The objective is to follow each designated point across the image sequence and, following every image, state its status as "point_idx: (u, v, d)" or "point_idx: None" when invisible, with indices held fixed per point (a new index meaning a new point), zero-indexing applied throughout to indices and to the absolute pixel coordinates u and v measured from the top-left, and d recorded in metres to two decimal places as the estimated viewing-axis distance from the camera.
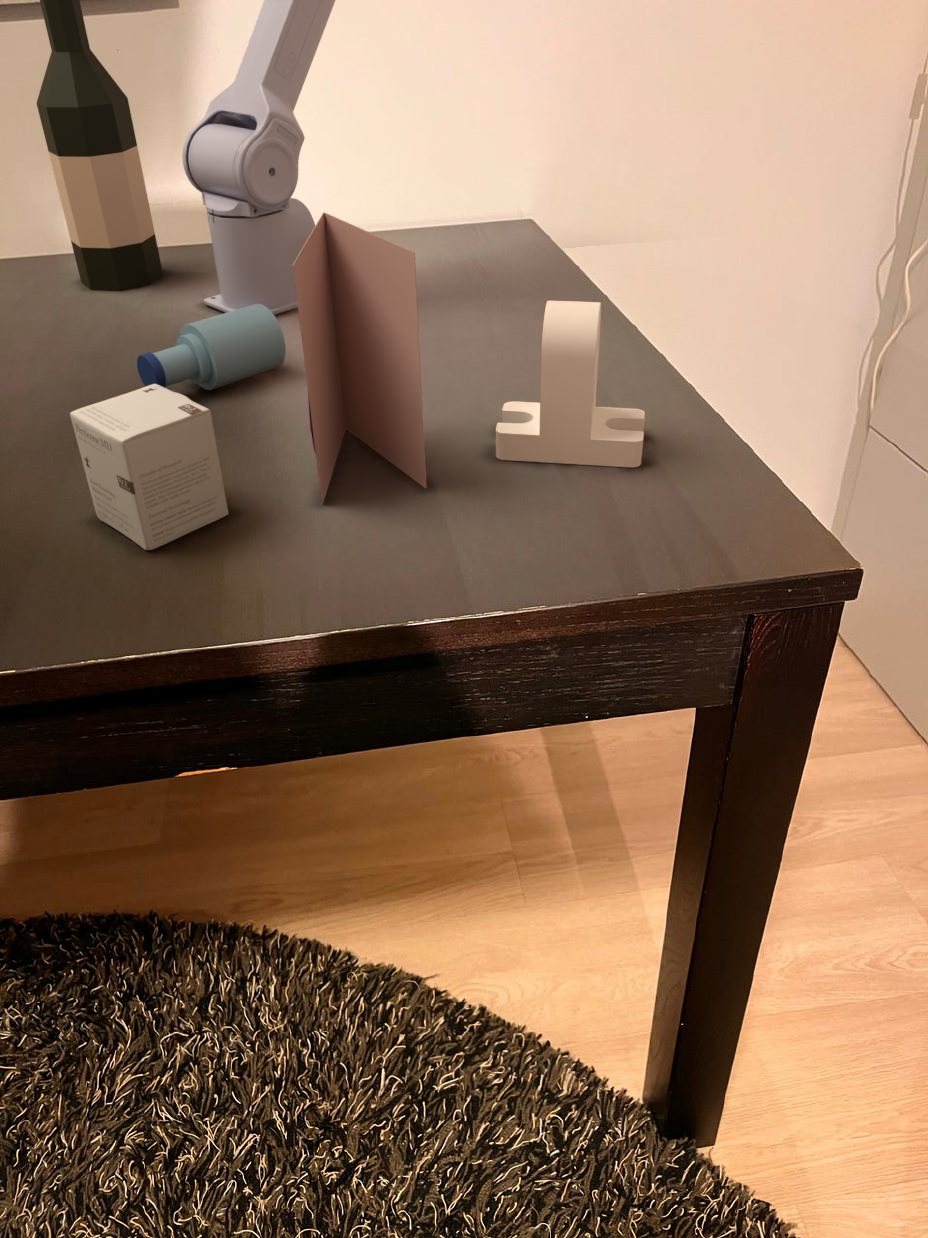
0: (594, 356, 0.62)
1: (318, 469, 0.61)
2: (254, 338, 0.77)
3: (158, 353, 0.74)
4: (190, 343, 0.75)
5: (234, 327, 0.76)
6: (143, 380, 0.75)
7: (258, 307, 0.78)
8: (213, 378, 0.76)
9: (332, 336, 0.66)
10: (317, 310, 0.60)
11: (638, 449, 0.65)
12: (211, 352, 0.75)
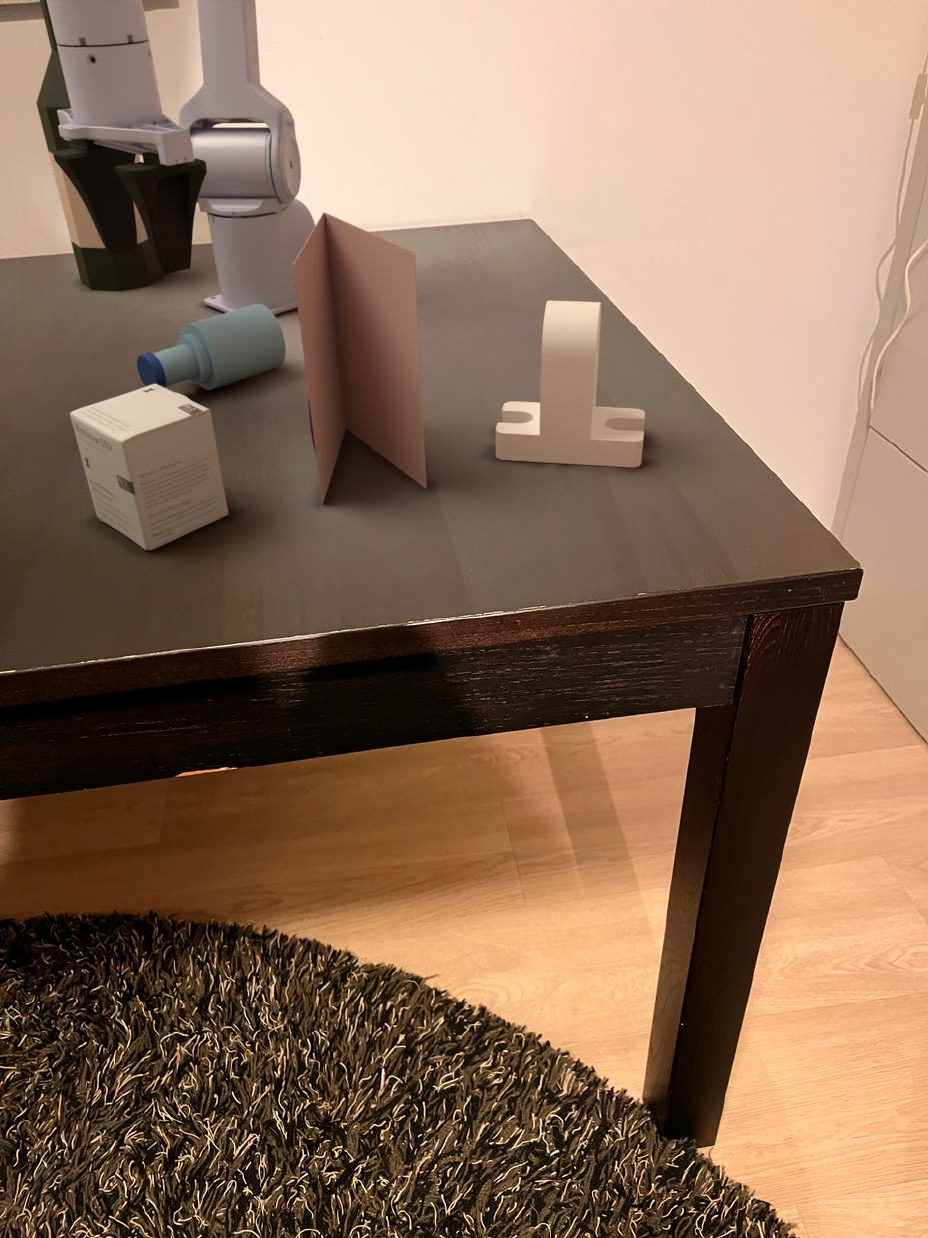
0: (594, 356, 0.62)
1: (318, 469, 0.61)
2: (254, 338, 0.77)
3: (158, 353, 0.74)
4: (190, 343, 0.75)
5: (234, 327, 0.76)
6: (143, 380, 0.75)
7: (258, 307, 0.78)
8: (213, 378, 0.76)
9: (332, 336, 0.66)
10: (317, 310, 0.61)
11: (638, 449, 0.65)
12: (211, 352, 0.75)
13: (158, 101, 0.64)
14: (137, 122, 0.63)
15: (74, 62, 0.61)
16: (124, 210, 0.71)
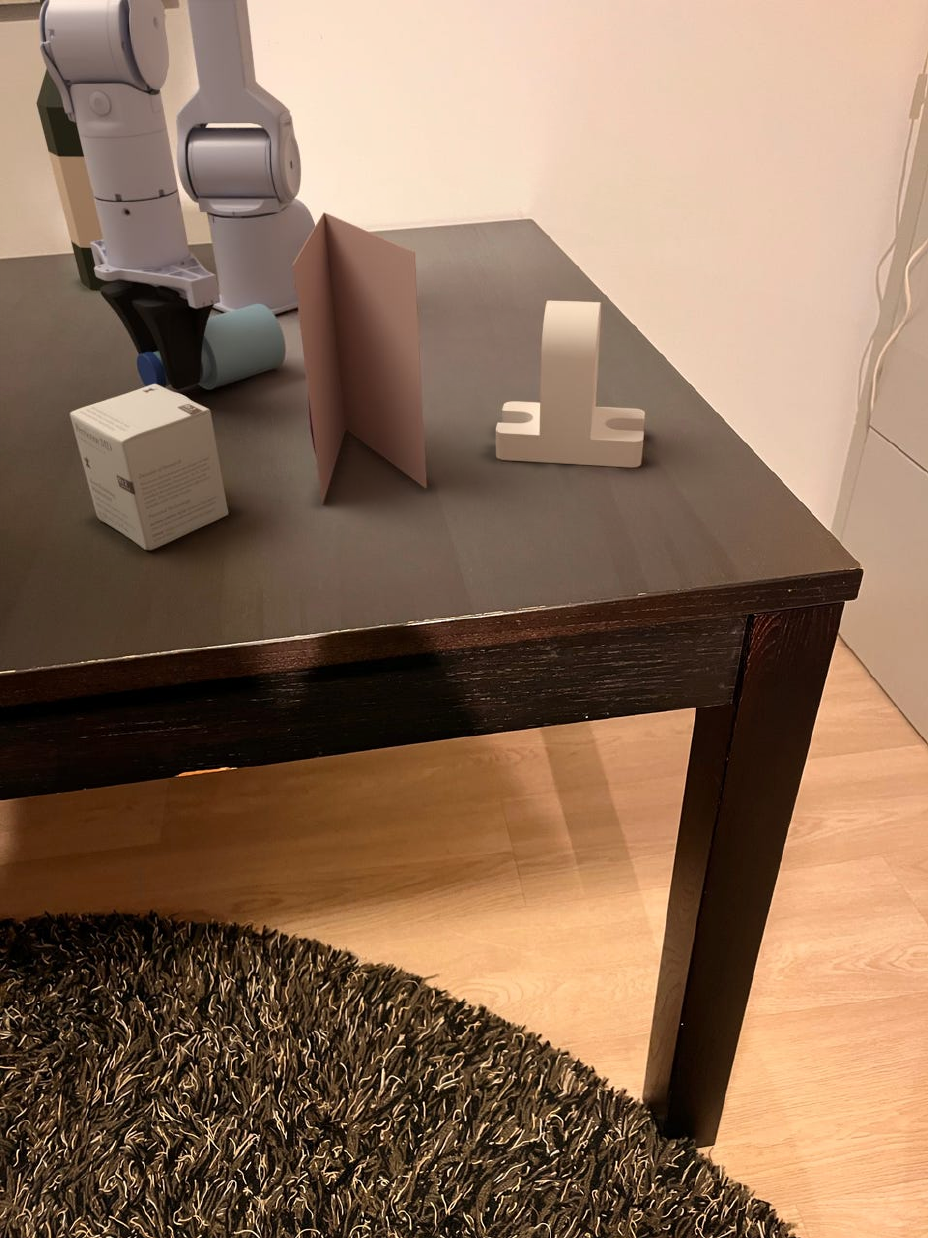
0: (594, 356, 0.62)
1: (318, 469, 0.61)
2: (254, 338, 0.77)
3: (158, 352, 0.74)
4: None
5: (234, 327, 0.76)
6: (143, 379, 0.75)
7: (258, 307, 0.78)
8: (213, 377, 0.76)
9: (332, 336, 0.66)
10: (317, 310, 0.61)
11: (638, 449, 0.65)
12: (211, 352, 0.75)
13: (186, 242, 0.70)
14: (167, 264, 0.69)
15: (110, 214, 0.66)
16: None
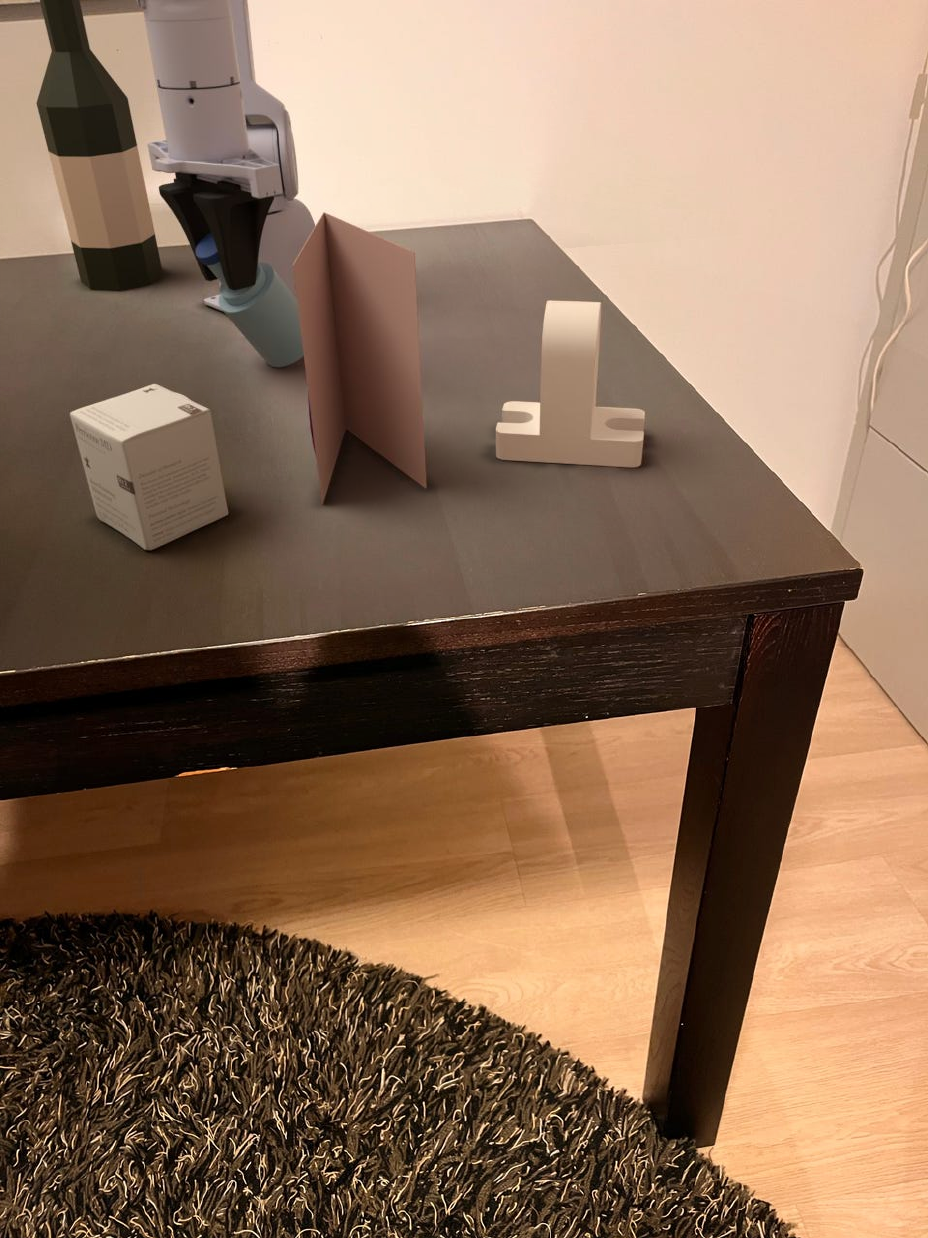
0: (594, 356, 0.62)
1: (318, 469, 0.61)
2: (298, 317, 0.79)
3: None
4: None
5: (292, 296, 0.78)
6: (199, 248, 0.74)
7: None
8: (249, 302, 0.76)
9: (332, 336, 0.66)
10: (317, 310, 0.60)
11: (638, 449, 0.65)
12: (269, 283, 0.76)
13: (246, 137, 0.70)
14: (229, 157, 0.68)
15: (174, 103, 0.66)
16: None
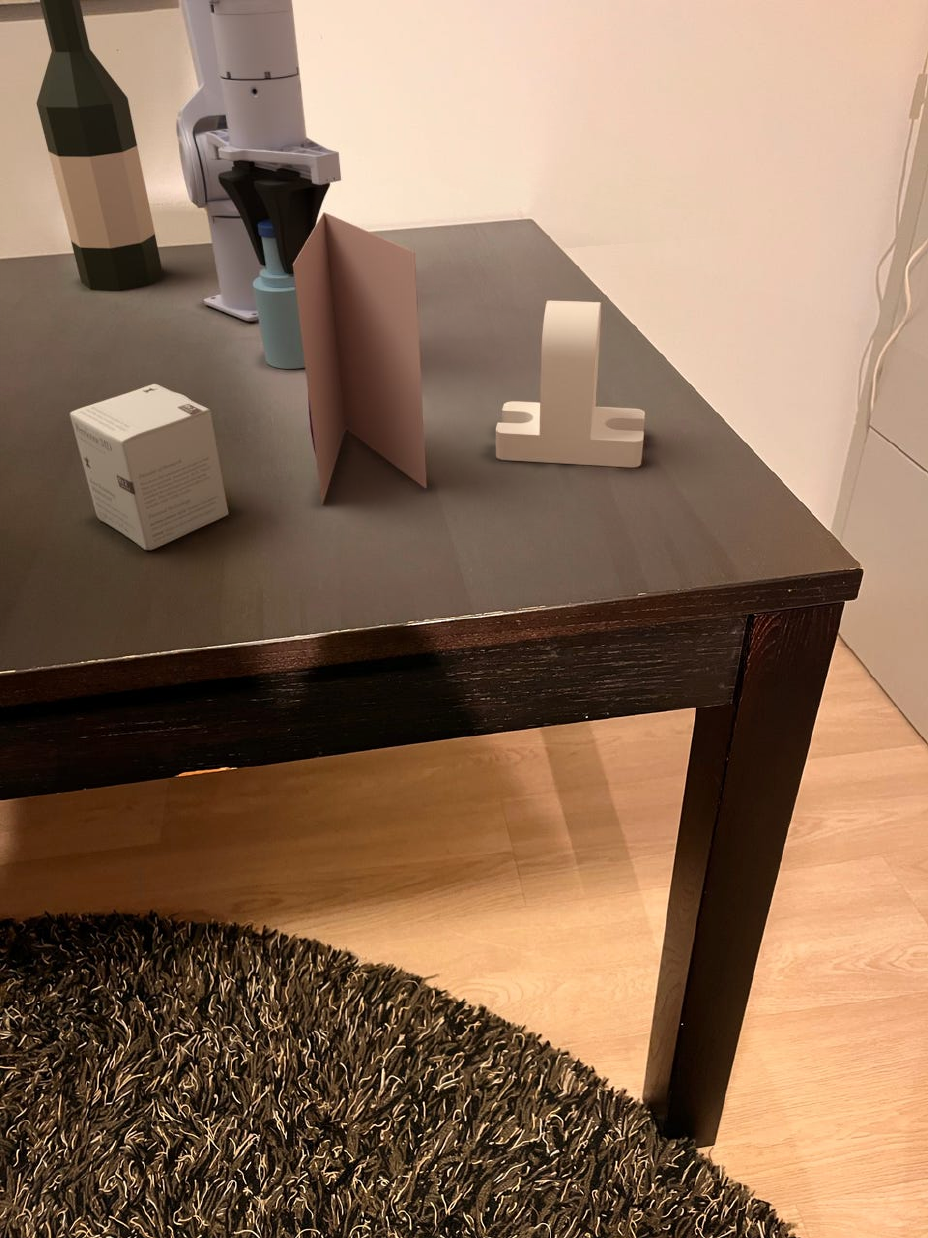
0: (594, 356, 0.62)
1: (318, 469, 0.61)
2: None
3: None
4: None
5: None
6: (262, 222, 0.76)
7: None
8: (286, 288, 0.77)
9: (332, 336, 0.66)
10: (317, 310, 0.60)
11: (638, 449, 0.65)
12: None
13: (304, 126, 0.73)
14: (288, 145, 0.71)
15: (238, 93, 0.69)
16: None
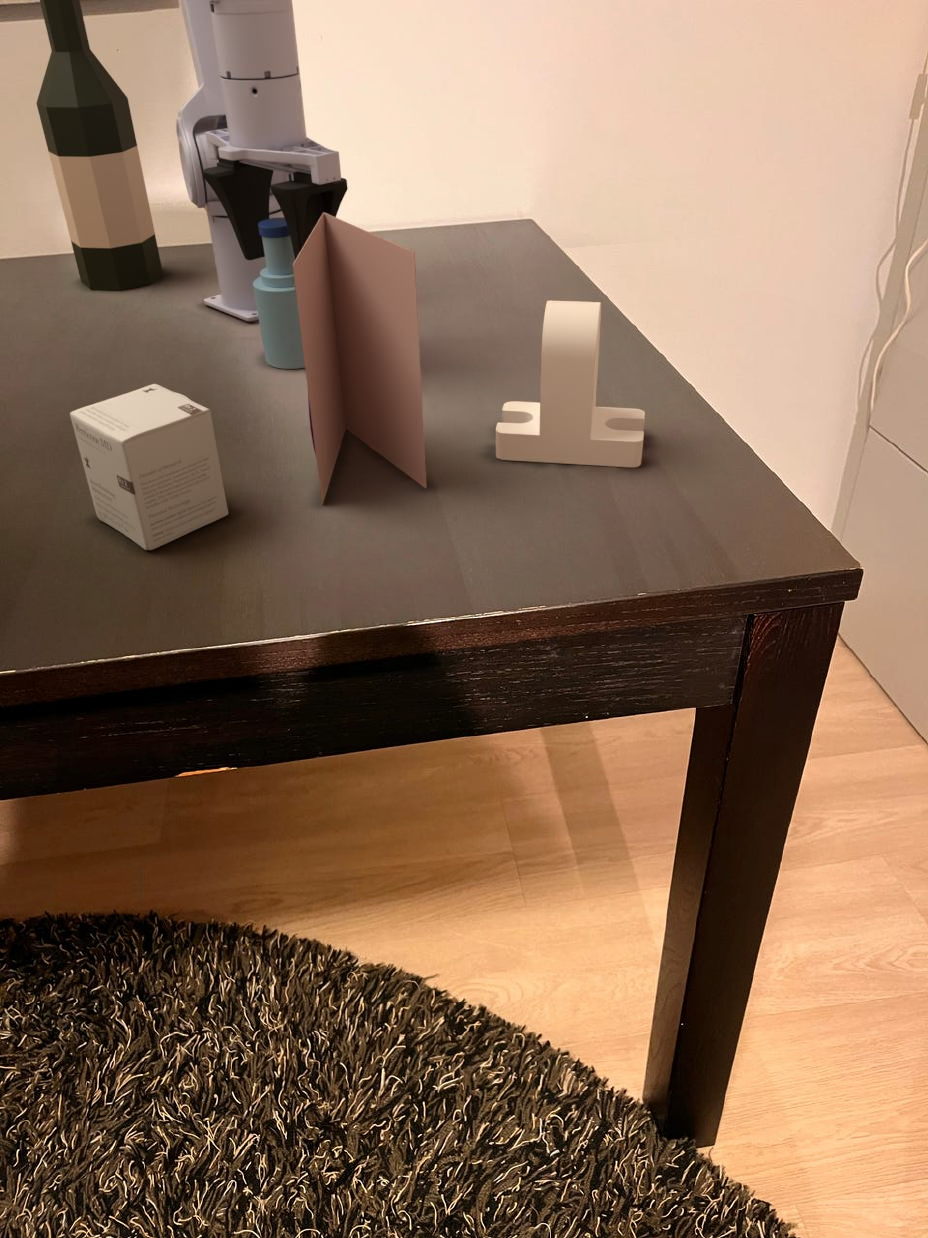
0: (594, 356, 0.62)
1: (318, 469, 0.61)
2: None
3: None
4: None
5: None
6: (262, 222, 0.76)
7: None
8: (286, 288, 0.77)
9: (332, 336, 0.66)
10: (317, 310, 0.61)
11: (638, 449, 0.65)
12: None
13: (304, 126, 0.73)
14: (288, 145, 0.71)
15: (238, 93, 0.69)
16: None
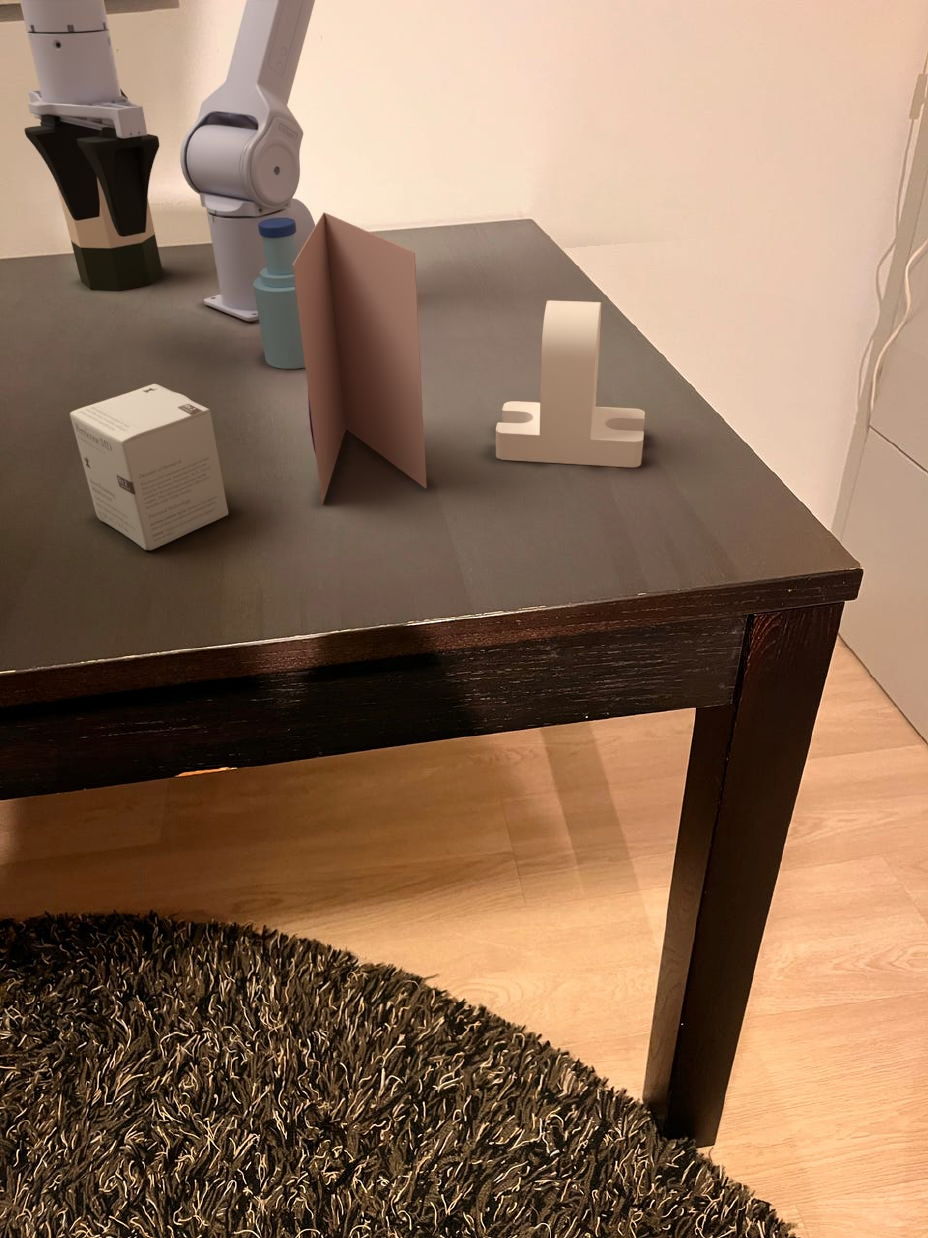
0: (594, 356, 0.62)
1: (318, 469, 0.61)
2: None
3: None
4: None
5: None
6: (262, 222, 0.76)
7: None
8: (286, 288, 0.77)
9: (332, 336, 0.66)
10: (317, 310, 0.60)
11: (638, 449, 0.65)
12: None
13: (117, 83, 0.73)
14: (97, 101, 0.72)
15: (42, 47, 0.70)
16: (88, 181, 0.80)
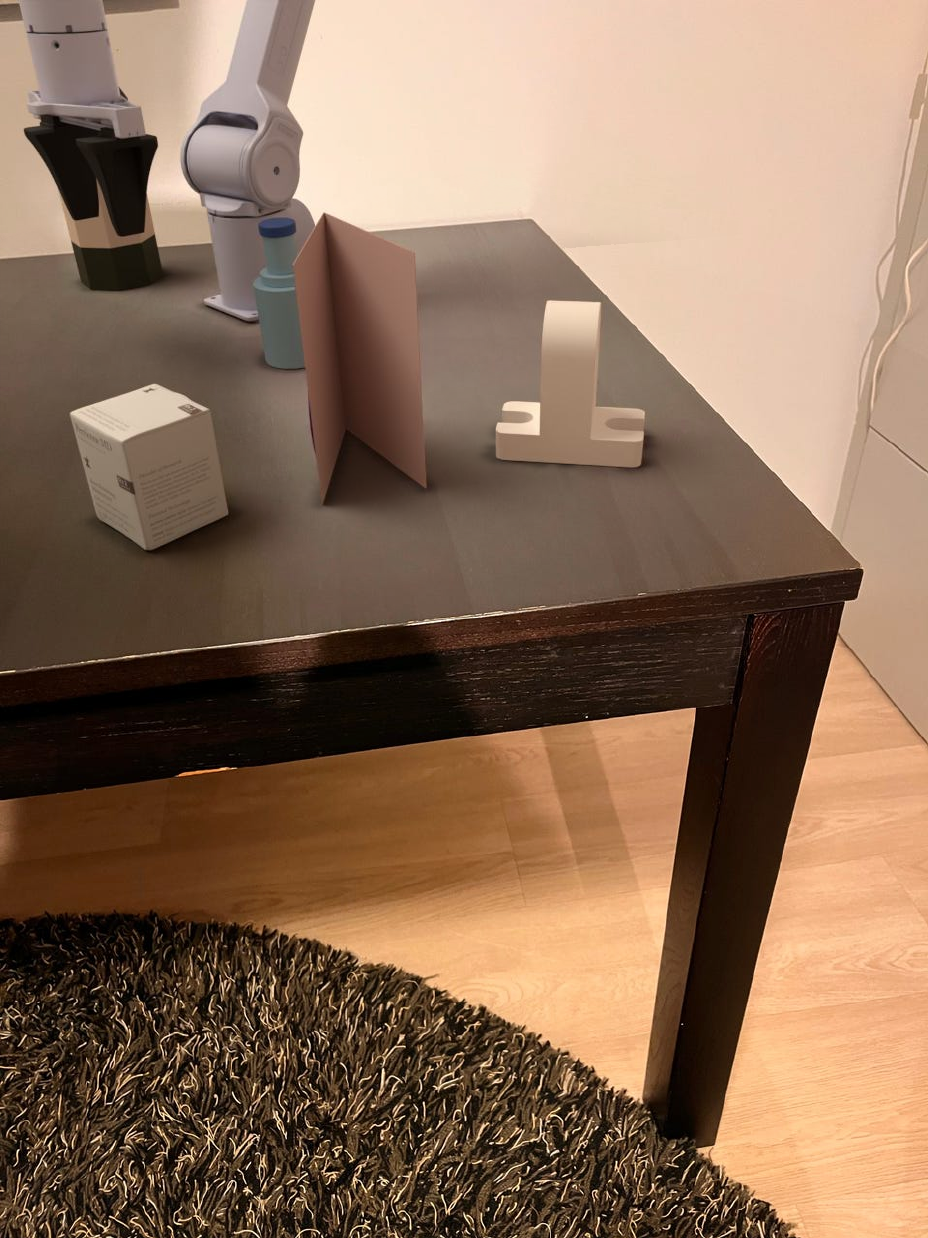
0: (594, 356, 0.62)
1: (318, 469, 0.61)
2: None
3: None
4: None
5: None
6: (262, 222, 0.76)
7: None
8: (286, 288, 0.77)
9: (332, 336, 0.66)
10: (317, 310, 0.60)
11: (638, 449, 0.65)
12: None
13: (115, 83, 0.73)
14: (96, 101, 0.72)
15: (40, 47, 0.70)
16: (87, 181, 0.80)
